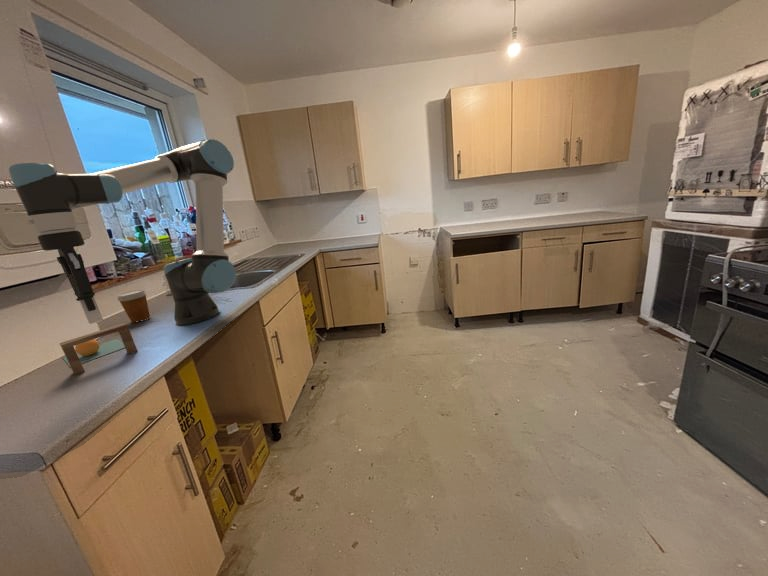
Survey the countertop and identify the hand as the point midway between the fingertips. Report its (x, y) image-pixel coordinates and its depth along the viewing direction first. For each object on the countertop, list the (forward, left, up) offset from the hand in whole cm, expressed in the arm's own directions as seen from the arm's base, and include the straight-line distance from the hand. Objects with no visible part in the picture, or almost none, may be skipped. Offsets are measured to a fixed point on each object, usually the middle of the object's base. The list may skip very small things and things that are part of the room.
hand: (96, 321), depth 82 cm
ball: (+1, -23, -12) cm, 26 cm away
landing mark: (0, -24, -14) cm, 28 cm away
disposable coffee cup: (-19, -48, -15) cm, 54 cm away
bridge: (0, -10, -14) cm, 18 cm away
